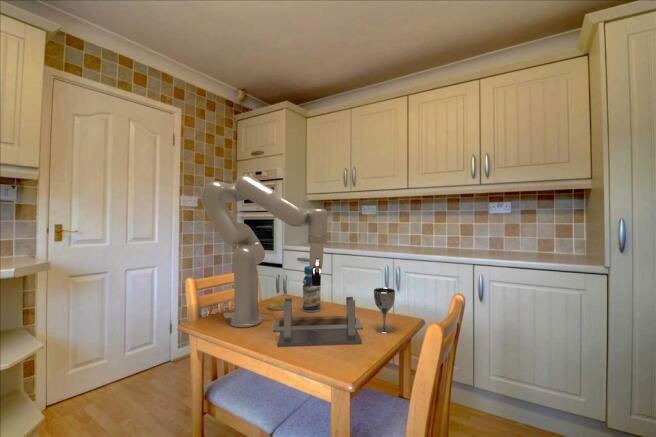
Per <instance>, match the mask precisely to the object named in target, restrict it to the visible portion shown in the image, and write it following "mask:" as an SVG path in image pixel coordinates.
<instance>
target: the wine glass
mask: <svg viewBox="0 0 656 437" xmlns="http://www.w3.org/2000/svg"><path fill="white" fill-rule="evenodd" d="M373 299H374V304H375V306H376V307H377V309H378V310H379V311H380V312H381V314H382V321H383V324H382V325H381V326H376V327H375V329H374V330H375V332H378V333H381V334H391V333H393V332H395V329H394V328H393V327H390V326H387V324H386V320H387V319H386V318H387V314H388V312H389V311H390V310H391V309H392V308H393V306H394V304H395V299H396V291H395V289H393V288H388V287H378V288H377V287H376V288H374V289H373Z"/></svg>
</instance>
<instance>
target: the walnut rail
mask: <svg viewBox="0 0 656 437" xmlns="http://www.w3.org/2000/svg"><path fill="white" fill-rule="evenodd" d="M356 318H357V317H356V316H355V324H356ZM278 321H279V326H284V317H279V320H278ZM341 324H346V315H331V316H330V315H329V316H328V315H327V316H324V315H323V316H322V315H321V316H296V317H295V316H294V317H293V316H292V326H308V325H341Z"/></svg>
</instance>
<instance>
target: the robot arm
mask: <svg viewBox="0 0 656 437" xmlns="http://www.w3.org/2000/svg"><path fill="white" fill-rule="evenodd" d="M200 199H201V205H202V208H203V211H204V212H205V214H206V215H207V217H208V218H209V220H210V221H211V223H212V225H213V227H214V228H215V230H216V231H217V233H218V234H219V236H220V238H221V240H222V241H223V242H224V244H225V245H228V246H230V247H233V246H234V247H237V248H236V249H235V250H234V252H233V253H232V257H231V263H232V269H233V283H234V284H233V293H234V295H233V298H234V299H233V300H234V301H233V302H234V303H233V305H234V306H233V310H234V311H231V312H223V318H225V320H228V319H230V321H229V322H230V325H231V326H232V327H235V328H251V327H255V326H258V325H260V324H261V323H262V322H263V317H262V316H261V315H259V274H258V268H257V265H260V264H261V263H262V262H263V261H264V259H265V257H266V252H265V248H264V247H263V244H262V243H261V242H260V240H259V238H258V237H257V235H256V234H255V232H254V230H252V228H251V227H250V226H249V225H248V224H246V223H244V222H238V221H237V220H236V218H235V217H234V215H233V213H232V212H231V211H230V209H229V208H228V207H227V206H226V204H234V203H238V202H243V201H245V200H249V201H250V202H253V204H256V205H258V206H259V207H261V208H262V209H264V210H265V211H266V212H268V213H269V214H271V215H273V216H274V217H276V218H277V219H278V220H280V221H282V222H284V223H285V224H287V225H289V226H290V227H293V228H297V227H298V228H299V227H307V229H308V231H307V244H309V264H308V266H309V268H310V269H311V268H313V271H312V286H321V283H322V282H321V281H322V280H321V279H322V276H321V270H322V269H323V263H324V245H326V244H327V243H328V242H327V241H328V240H327V239H328V210H327V209H325V208H310V209H308V208H303V207H298V206H296V205H294V204H292V203H291V202H289V201H287V200H286V199H285V198H283V197H281V195H279V193H278V192H277V191H276V190H275V189H273V188H272V187H269V186H268V185H266V184H264V183H262V182H261V181H260V179H258V178H256V177H253V176H251V175H247V174H244V175H240V176H238V177H237V179H236V180H235V181H234V182H233V183H227V182H225V181H224V182H223V181H220V180H219V181H218V180H215V181H214V180H213V181H211V182H208V183H207V184H206V185H205V186H204V187H203V190H202V192H201V196H200Z"/></svg>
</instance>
